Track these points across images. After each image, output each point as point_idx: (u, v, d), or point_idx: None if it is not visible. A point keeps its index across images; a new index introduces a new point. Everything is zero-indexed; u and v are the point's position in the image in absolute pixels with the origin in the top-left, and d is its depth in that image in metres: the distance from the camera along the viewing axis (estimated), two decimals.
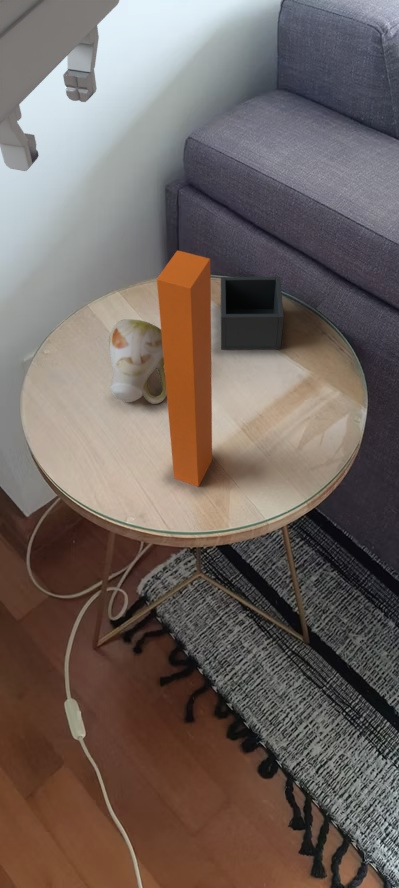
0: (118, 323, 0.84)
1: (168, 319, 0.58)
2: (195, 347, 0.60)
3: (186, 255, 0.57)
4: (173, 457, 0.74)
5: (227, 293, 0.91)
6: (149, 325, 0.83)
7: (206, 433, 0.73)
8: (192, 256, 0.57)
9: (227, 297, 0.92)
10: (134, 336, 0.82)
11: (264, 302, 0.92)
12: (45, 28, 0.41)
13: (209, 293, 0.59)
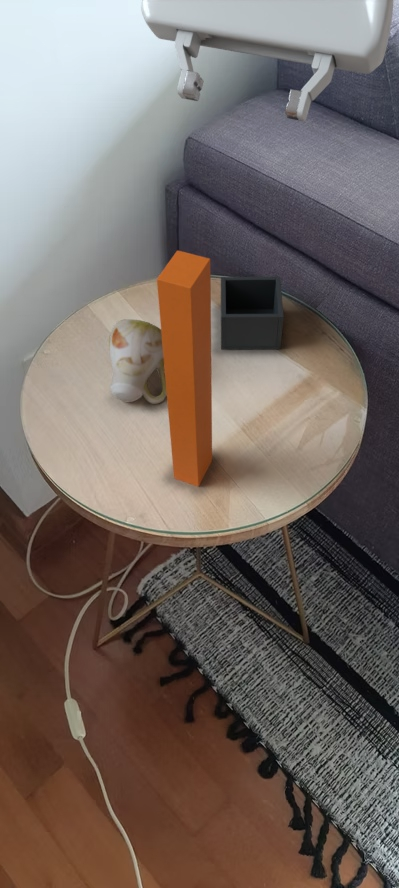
0: (118, 323, 0.84)
1: (168, 319, 0.58)
2: (195, 347, 0.60)
3: (186, 255, 0.57)
4: (173, 457, 0.74)
5: (227, 293, 0.91)
6: (149, 325, 0.83)
7: (206, 433, 0.73)
8: (192, 256, 0.57)
9: (227, 297, 0.92)
10: (134, 336, 0.82)
11: (264, 302, 0.92)
12: None
13: (209, 293, 0.59)
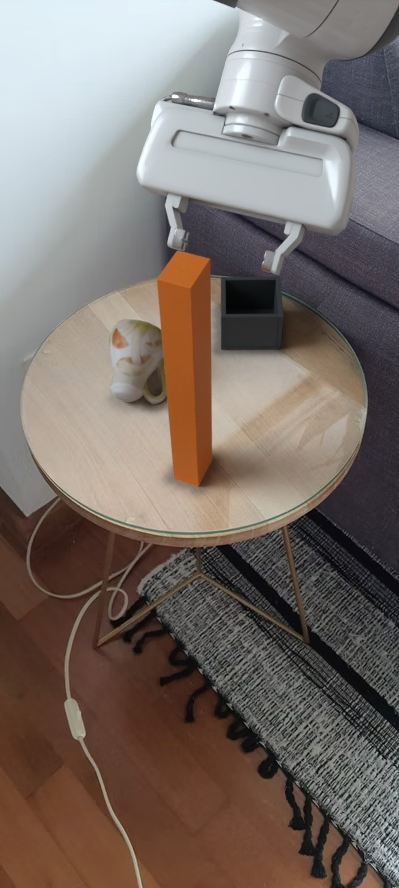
0: (118, 323, 0.84)
1: (168, 319, 0.58)
2: (195, 347, 0.60)
3: (186, 255, 0.57)
4: (173, 457, 0.74)
5: (227, 293, 0.91)
6: (149, 325, 0.83)
7: (206, 433, 0.73)
8: (192, 256, 0.57)
9: (227, 297, 0.92)
10: (134, 336, 0.82)
11: (264, 302, 0.92)
12: (220, 171, 0.62)
13: (209, 293, 0.59)
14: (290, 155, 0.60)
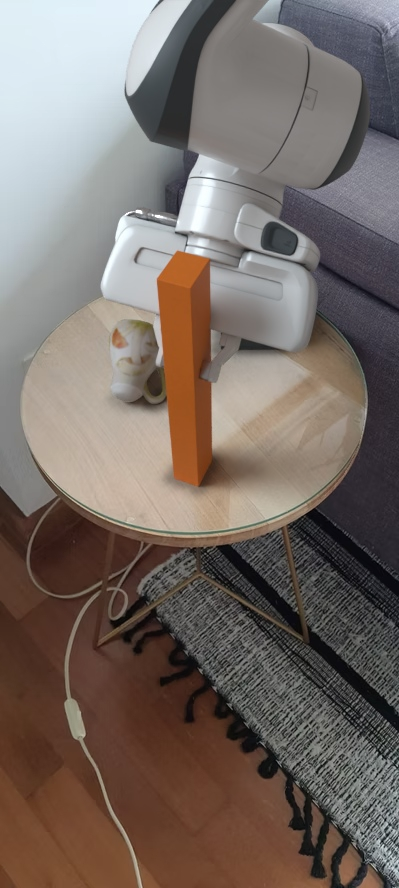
0: (118, 323, 0.84)
1: (168, 319, 0.58)
2: (194, 347, 0.60)
3: (186, 255, 0.57)
4: (173, 457, 0.74)
5: None
6: (149, 325, 0.83)
7: (206, 433, 0.73)
8: (191, 256, 0.57)
9: None
10: (134, 336, 0.82)
11: None
12: None
13: (209, 293, 0.59)
14: (251, 277, 0.61)
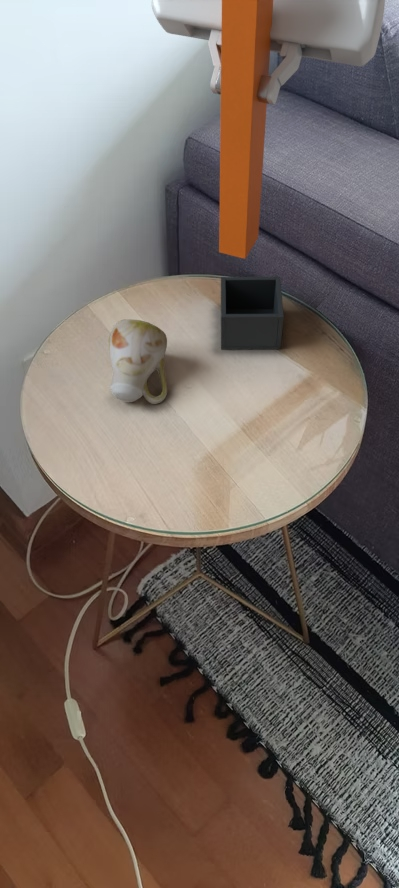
0: (118, 323, 0.84)
1: (231, 3, 0.54)
2: (256, 44, 0.56)
3: None
4: (220, 220, 0.70)
5: (227, 293, 0.91)
6: (149, 325, 0.83)
7: (256, 190, 0.69)
8: None
9: (227, 297, 0.92)
10: (133, 336, 0.82)
11: (264, 302, 0.92)
12: None
13: None
14: None
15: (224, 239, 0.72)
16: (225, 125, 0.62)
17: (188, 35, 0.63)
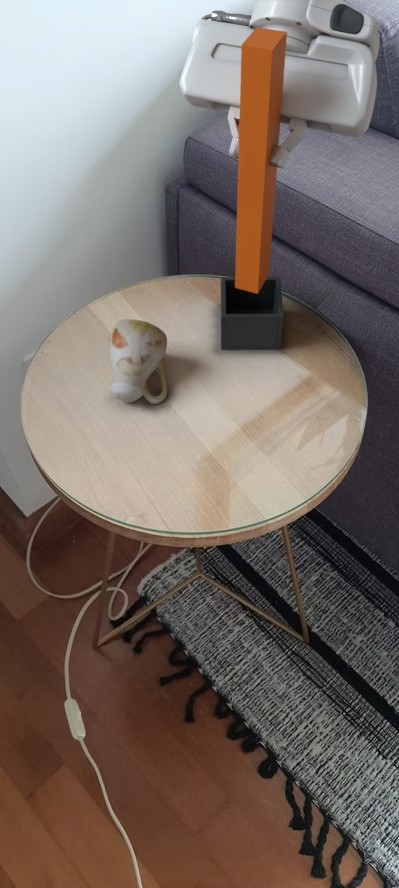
0: (118, 323, 0.84)
1: (248, 90, 0.65)
2: (269, 122, 0.67)
3: (265, 29, 0.64)
4: (237, 261, 0.81)
5: (227, 293, 0.91)
6: (149, 325, 0.83)
7: (268, 236, 0.80)
8: (270, 30, 0.64)
9: (227, 297, 0.92)
10: (133, 336, 0.82)
11: (264, 302, 0.92)
12: None
13: (283, 71, 0.66)
14: (319, 62, 0.68)
15: (239, 277, 0.83)
16: (242, 185, 0.73)
17: (210, 108, 0.74)
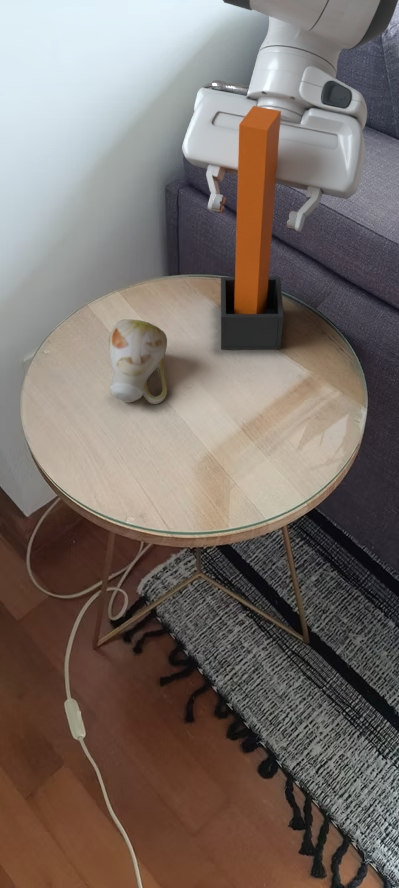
0: (118, 323, 0.84)
1: (245, 163, 0.71)
2: (265, 190, 0.73)
3: (261, 109, 0.70)
4: (235, 309, 0.87)
5: (227, 293, 0.91)
6: (149, 325, 0.83)
7: (264, 286, 0.86)
8: (265, 109, 0.70)
9: (227, 297, 0.92)
10: (133, 336, 0.82)
11: None
12: None
13: (277, 144, 0.72)
14: (311, 131, 0.74)
15: None
16: (240, 243, 0.79)
17: None
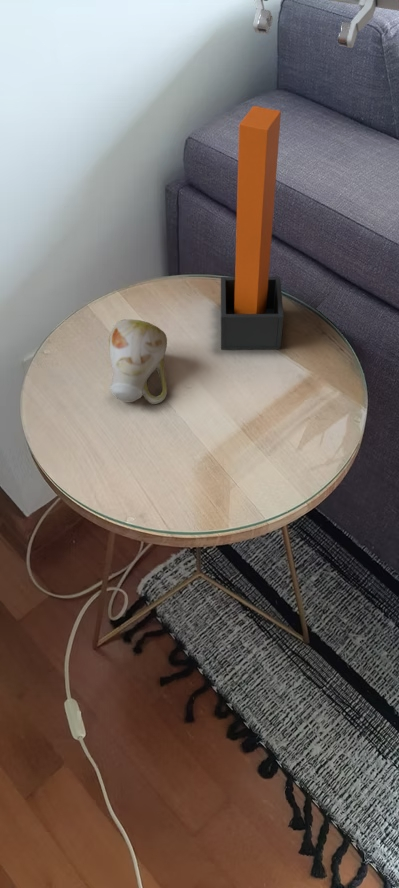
0: (117, 323, 0.84)
1: (245, 163, 0.71)
2: (265, 190, 0.73)
3: (261, 109, 0.70)
4: (235, 309, 0.87)
5: (227, 293, 0.91)
6: (149, 325, 0.83)
7: (264, 286, 0.86)
8: (265, 109, 0.70)
9: (227, 297, 0.92)
10: (133, 336, 0.82)
11: None
12: None
13: (277, 144, 0.72)
14: None
15: None
16: (240, 243, 0.79)
17: None
